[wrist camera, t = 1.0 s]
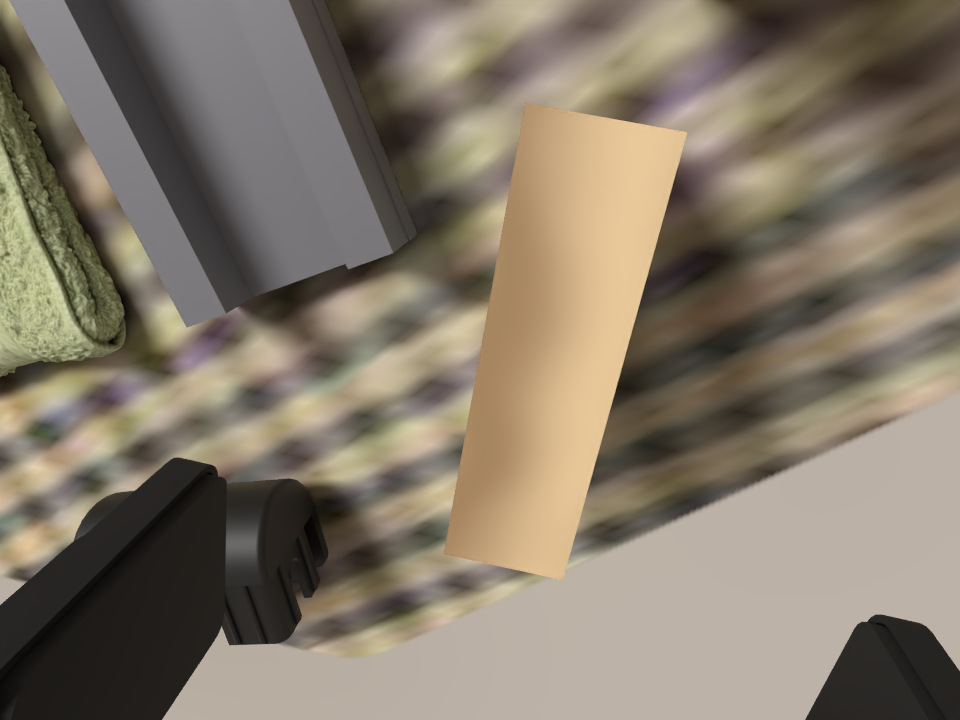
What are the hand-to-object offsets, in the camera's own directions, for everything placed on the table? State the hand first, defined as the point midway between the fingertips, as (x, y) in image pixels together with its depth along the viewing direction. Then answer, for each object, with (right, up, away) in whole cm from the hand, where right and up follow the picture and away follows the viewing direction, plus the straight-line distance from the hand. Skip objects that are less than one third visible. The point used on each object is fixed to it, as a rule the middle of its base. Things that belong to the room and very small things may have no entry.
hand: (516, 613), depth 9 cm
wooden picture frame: (+3, +7, +19) cm, 20 cm away
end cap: (-14, -5, +26) cm, 30 cm away
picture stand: (-12, +18, +16) cm, 27 cm away
